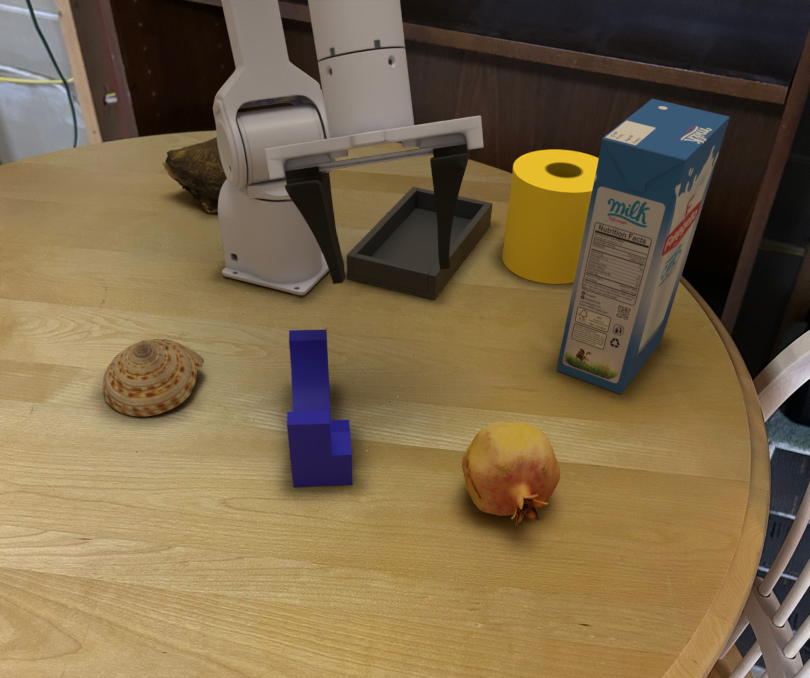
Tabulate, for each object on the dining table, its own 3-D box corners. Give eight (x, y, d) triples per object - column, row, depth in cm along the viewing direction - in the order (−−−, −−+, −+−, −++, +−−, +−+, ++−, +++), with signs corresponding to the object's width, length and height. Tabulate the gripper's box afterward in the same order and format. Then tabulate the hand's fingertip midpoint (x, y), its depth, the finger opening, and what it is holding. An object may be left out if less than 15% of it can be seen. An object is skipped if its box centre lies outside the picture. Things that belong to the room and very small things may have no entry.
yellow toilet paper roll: (607, 250, 88) (626, 161, 81) (580, 293, 81) (599, 201, 74) (520, 229, 90) (532, 142, 83) (488, 269, 84) (498, 178, 77)
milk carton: (620, 395, 70) (685, 159, 55) (555, 370, 72) (602, 137, 57) (661, 342, 76) (730, 116, 61) (600, 321, 78) (652, 98, 63)
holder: (346, 278, 82) (346, 254, 80) (412, 208, 93) (412, 186, 91) (434, 300, 80) (435, 276, 78) (490, 225, 91) (492, 202, 89)
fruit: (440, 403, 59) (475, 494, 52) (530, 375, 59) (577, 462, 52) (456, 469, 64) (490, 559, 57) (539, 443, 64) (583, 531, 57)
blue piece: (352, 484, 61) (350, 422, 57) (293, 486, 61) (286, 424, 57) (347, 389, 69) (345, 328, 65) (294, 391, 69) (289, 330, 65)
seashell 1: (221, 342, 70) (172, 358, 63) (217, 405, 72) (169, 426, 65) (137, 323, 71) (80, 336, 64) (137, 385, 74) (81, 404, 67)
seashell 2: (297, 165, 99) (297, 111, 93) (317, 213, 95) (319, 159, 89) (162, 180, 95) (154, 124, 89) (178, 230, 91) (170, 175, 85)
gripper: (238, 70, 49) (283, 297, 55) (476, 30, 47) (495, 269, 53) (262, 77, 55) (300, 280, 61) (472, 42, 54) (490, 254, 60)
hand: (391, 274), depth 58 cm, fingers open, 7 cm apart
